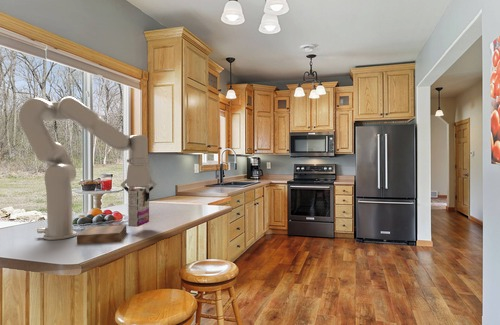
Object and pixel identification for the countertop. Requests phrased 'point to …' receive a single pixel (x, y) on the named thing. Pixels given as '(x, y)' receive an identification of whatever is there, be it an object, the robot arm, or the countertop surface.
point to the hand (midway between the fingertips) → (138, 200)
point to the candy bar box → (137, 207)
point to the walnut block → (101, 234)
